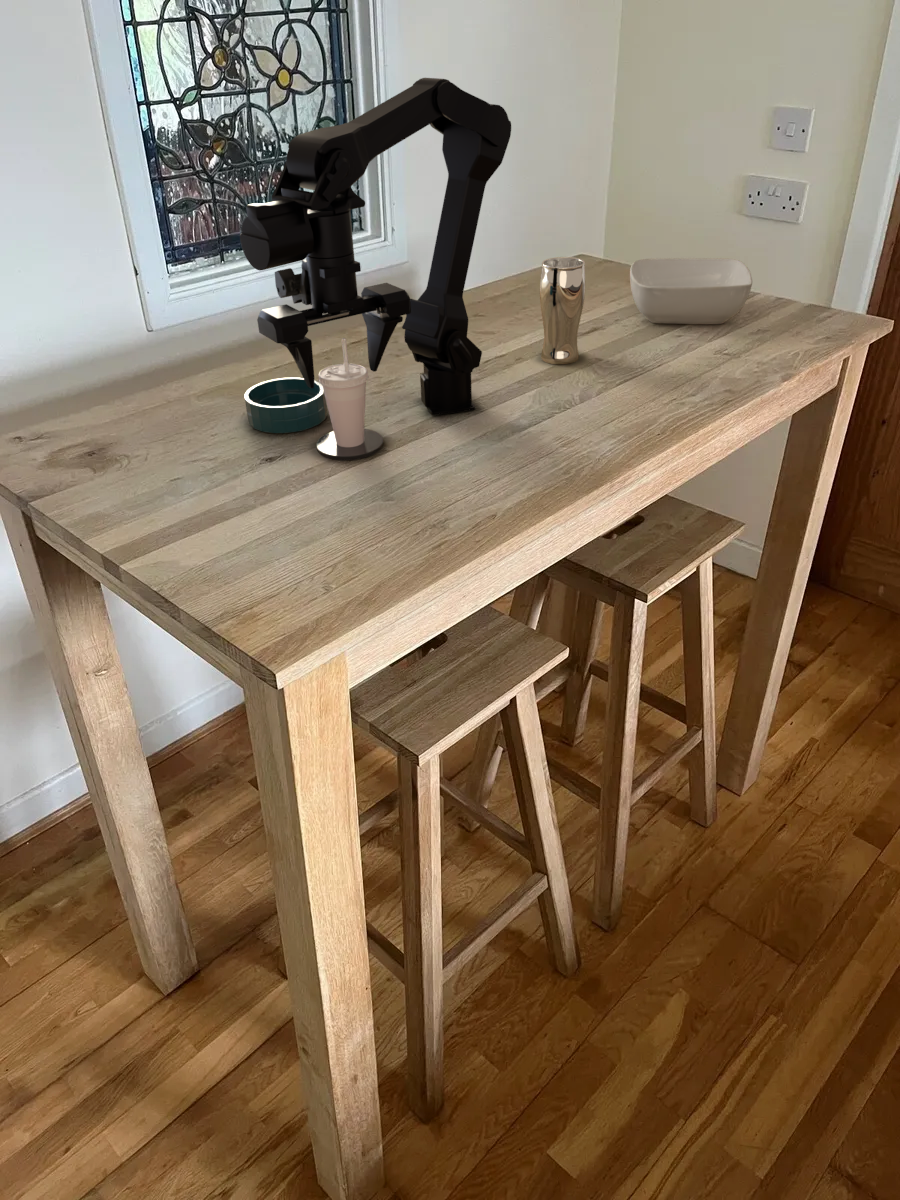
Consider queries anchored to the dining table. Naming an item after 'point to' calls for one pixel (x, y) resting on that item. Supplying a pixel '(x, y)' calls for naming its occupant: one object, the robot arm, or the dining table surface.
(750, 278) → the bowl
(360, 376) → the smoothie
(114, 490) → the dining table surface
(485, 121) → the robot arm
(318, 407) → the teal faceted dish
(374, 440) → the coaster
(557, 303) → the beer glass
